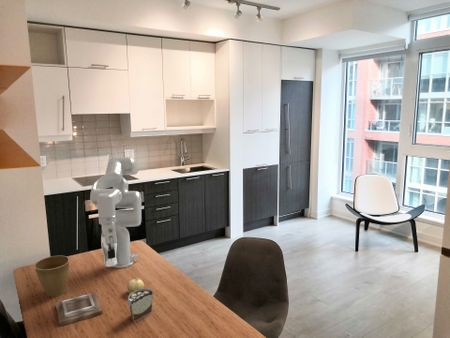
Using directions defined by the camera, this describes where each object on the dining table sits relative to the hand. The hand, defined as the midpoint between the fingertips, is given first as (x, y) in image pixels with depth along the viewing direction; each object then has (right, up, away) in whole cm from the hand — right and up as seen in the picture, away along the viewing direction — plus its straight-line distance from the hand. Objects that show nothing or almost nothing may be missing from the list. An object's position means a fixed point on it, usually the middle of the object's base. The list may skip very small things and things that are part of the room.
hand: (110, 254), depth 162 cm
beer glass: (0, -5, +1) cm, 5 cm away
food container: (+17, -22, -15) cm, 32 cm away
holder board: (-10, -22, -11) cm, 26 cm away
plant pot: (-28, -20, +3) cm, 34 cm away
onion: (+11, -19, +4) cm, 23 cm away
